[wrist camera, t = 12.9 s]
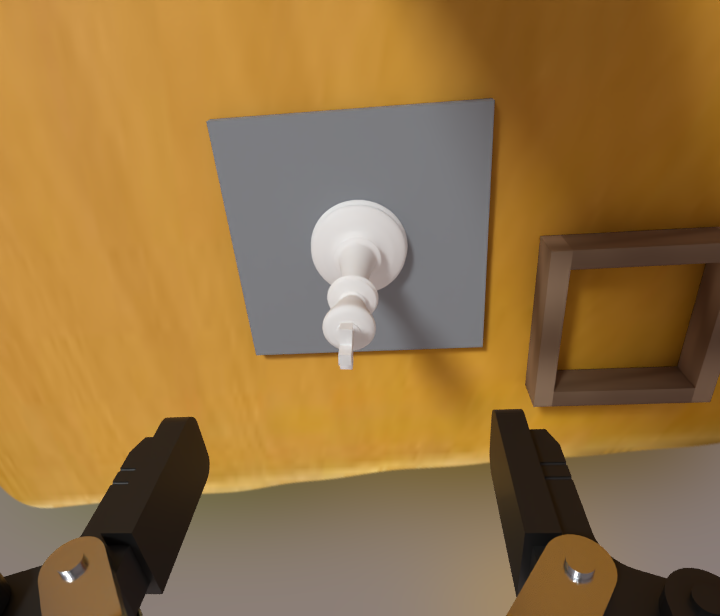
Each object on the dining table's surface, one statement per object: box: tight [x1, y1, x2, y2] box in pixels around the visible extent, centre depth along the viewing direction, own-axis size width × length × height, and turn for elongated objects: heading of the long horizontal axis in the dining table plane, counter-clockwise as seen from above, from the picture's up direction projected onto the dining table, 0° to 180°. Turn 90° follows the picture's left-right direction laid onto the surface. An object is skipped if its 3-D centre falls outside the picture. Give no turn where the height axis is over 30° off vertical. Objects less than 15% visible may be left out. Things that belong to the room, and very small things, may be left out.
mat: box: [207, 98, 495, 355], centre depth 26 cm, size 13×13×1 cm
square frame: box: [525, 227, 720, 407], centre depth 27 cm, size 10×10×2 cm
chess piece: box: [311, 200, 408, 369], centre depth 22 cm, size 5×5×10 cm
